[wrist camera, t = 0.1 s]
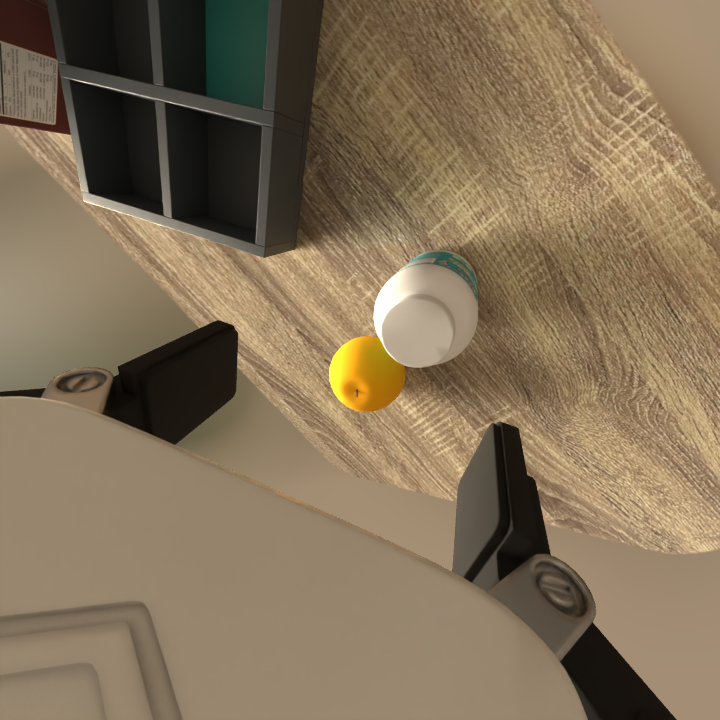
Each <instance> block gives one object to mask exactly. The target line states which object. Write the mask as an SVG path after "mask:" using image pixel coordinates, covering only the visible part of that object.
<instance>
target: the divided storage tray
mask: <svg viewBox="0 0 720 720" xmlns="http://www.w3.org/2000/svg"><path fill="white" fill-rule="evenodd" d="M47 6H48V11H49V16H50V22H51V27H52V33H53V38H54V44H55V49H56V55H57V60H58V62H59V63H58V65H59V71H60V76H61V83H62V88H63V94H64V99H65V104H66V110H67V115H68V121H69V126H70V132H71V137H72V143H73V148H74V153H75V159H76V164H77V170H78V175H79V181H80V186H81V190H82V196H83V201H85V202H88V203H91V204H94V205H98V206H101V207H104V208H107V209H110V210H114V211H117V212H120V213H123V214H126V215H129V216H133V217H136V218H139V219H142V220H145V221H149V222H152V223H155V224H158V225H161V226H165V227H168V228H171V229H174V230H177V231H180V232H184V233H187V234H190V235H193V236H196V237H200V238H203V239H206V240H209V241H212V242H216V243H219V244H222V245H225V246H228V247H231V248H235V249H238V250H241V251H244V252H247V253H251V254H254V255H257V256H260V257H263V258H265V257H269V256H273V255H276V254H280V253H283V252H287V251H291V250H295V247H296V238H297V229H298V221H299V212H300V203H301V194H302V185H303V176H304V168H305V159H306V150H307V141H308V132H309V124H310V115H311V106H312V97H313V88H314V80H315V71H316V62H317V53H318V44H319V36H320V27H321V18H322V9H323V0H47Z"/></svg>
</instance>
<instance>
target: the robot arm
mask: <svg viewBox="0 0 720 720" xmlns="http://www.w3.org/2000/svg"><path fill="white" fill-rule="evenodd" d="M237 351H238V332H237V331H236V330H235V327H234V326H233V325H231V324H228V323H225V322H222V321H219V320H217V321H215V322H212V323H210V324H208V325H206V326H204V327H202V328H200V329H197V330H195V331H193V332H191V333H189V334H187V335H185V336H182V337H180V338H178V339H176V340H174V341H172V342H170V343H167V344H165V345H163V346H161V347H159V348H157V349H155V350H152V351H150V352H148V353H146V354H144V355H142V356H140V357H137V358H135V359H133V360H131V361H129V362H127V363H125V364H122V365H120V366H118V371H119V375H117V376H115V377H113V375H112V373H111V372H110V371H108V370H106V369H102V368H98V367H97V368H96V367H84V368H77V369H72V370H69V371H66V372H63V373H61V374H59V375H57V376H56V377H54V378H53V379H52V380H51V381H50V383H49V384H48V386H47V388H43V389H31V390H19V391H6V392H0V720H676V719H675V717H674V716H673V715H672V714H671V713H670V712H669V710H668V709H667V708H666V707H665V706H664V705H663V703H662V702H661V701H660V700H659V699H658V698H657V697H656V695H655V694H654V693H653V692H652V691H651V690H650V689H649V688H648V686H647V685H646V684H645V683H644V682H643V680H642V679H641V678H640V677H639V676H638V675H637V674H636V672H635V671H634V670H633V669H632V668H631V667H630V665H629V664H628V663H627V662H626V661H625V659H624V658H623V657H622V656H621V655H620V654H619V653H618V651H617V650H616V649H615V648H614V647H613V646H612V644H611V643H610V642H609V641H608V640H607V639H606V637H605V636H604V635H603V634H602V633H601V632H600V630H599V629H598V628H597V627H596V626H595V625H594V624H593V620H594V618H595V615H596V606H595V602H594V599H593V596H592V594H591V592H590V590H589V589H588V587H587V585H586V583H585V582H584V581H583V579H582V578H581V577H580V576H579V575H578V574H577V573H576V571H574V570H573V569H572V568H571V567H569V565H567V564H566V563H565V562H563V561H561V560H560V559H558V558H556V557H554V556H551V554H550V549H549V544H548V540H547V535H546V530H545V525H544V520H543V515H542V510H541V506H540V501H539V496H538V491H537V486H536V482H535V480H534V479H533V478H532V477H530V476H528V475H527V471H526V466H525V460H524V455H523V449H522V444H521V438H520V433H519V429H518V428H517V427H514V426H511V425H508V424H506V423H503V422H498V423H497V425H495V424H491V425H490V426H489V428H488V430H487V431H486V433H485V435H484V437H483V439H482V441H481V443H480V444H479V446H478V448H477V450H476V452H475V454H474V456H473V457H472V459H471V461H470V463H469V465H468V467H467V469H466V470H465V472H464V474H463V476H462V478H461V480H460V483H459V486H458V494H457V509H456V526H455V540H454V555H453V570H452V571H449V570H448V569H446V568H444V567H442V566H440V565H438V564H436V563H434V562H432V561H430V560H428V559H426V558H424V557H422V556H420V555H417V554H415V553H413V552H411V551H409V550H407V549H405V548H403V547H401V546H398V545H396V544H394V543H392V542H390V541H388V540H385V539H383V538H381V537H379V536H377V535H375V534H373V533H370V532H368V531H366V530H364V529H362V528H359V527H357V526H355V525H353V524H350V523H348V522H346V521H344V520H342V519H340V518H337V517H335V516H333V515H330V514H328V513H326V512H324V511H322V510H320V509H318V508H315V507H313V506H311V505H309V504H306V503H304V502H302V501H300V500H298V499H295V498H293V497H291V496H289V495H286V494H284V493H282V492H280V491H277V490H275V489H273V488H271V487H269V486H266V485H264V484H262V483H259V482H257V481H255V480H253V479H251V478H248V477H246V476H244V475H242V474H239V473H237V472H235V471H233V470H230V469H228V468H226V467H223V466H221V465H219V464H217V463H214V462H212V461H210V460H208V459H206V458H203V457H201V456H199V455H196V454H194V453H192V452H189V451H187V450H185V449H183V448H180V447H178V446H176V445H175V444H177V443H178V442H179V441H180V440H182V439H183V438H184V437H185V436H186V435H188V434H189V433H190V432H191V431H193V430H194V429H195V428H196V427H197V426H199V425H200V424H201V423H202V422H204V421H205V420H206V419H207V418H209V417H210V416H211V415H212V414H213V413H215V412H216V411H217V410H218V409H220V408H221V407H222V406H223V405H225V404H226V403H227V402H228V401H229V400H231V399H232V398H233V396H234V395H235V392H236V380H237Z"/></svg>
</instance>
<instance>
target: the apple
mask: <svg viewBox="0 0 720 720" xmlns="http://www.w3.org/2000/svg"><path fill="white" fill-rule="evenodd" d="M329 374H330V383H331V386H332V389H333V391H334V393H335V395H336V396H337V397H338V399H339V400H340V401H341V402H342V403H343V404H345V405H346V406H347V407H349V408H352V409H354V410H357V411H362V412H369V411H377V410H379V409H381V408H384V407H386V406H388V405H389V404H390V403H391V402H392V401H393V400H395V399H396V398H397V397H398V395H399V393H400V391H401V390H402V388H403V386H404V382H405V367H404V365H403V364H401V363H399V362H397V361H396V360H395V359H393V358H392V357H391V356H390V355H389V354H388V352H387V351H386V349H385V348H384V345H383V343H382V341H381V340H380V338H378V337H371V336H364V337H358V338H354V339H352V340H351V341H349V342H347V343H346V344H344V345H343V346H342V347H341V348H340V349H339V350H338V352H337V353H336V354H335V356H334V357H333V360H332V363H331V366H330V369H329Z"/></svg>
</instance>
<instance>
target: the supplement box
mask: <svg viewBox="0 0 720 720" xmlns="http://www.w3.org/2000/svg"><path fill="white" fill-rule="evenodd" d="M58 63H59V62H58V60H57V55H56V49H55V44H54V38H53V33H52V27H51V22H50V16H49V11H48V6H47V0H0V124H4V125H10V126H17V127H24V128H30V129H36V130H42V131H49V132H55V133H62V134H68V135H71V132H70V126H69V121H68V115H67V110H66V104H65V99H64V94H63V88H62V83H61V76H60V71H59V65H58Z"/></svg>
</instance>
